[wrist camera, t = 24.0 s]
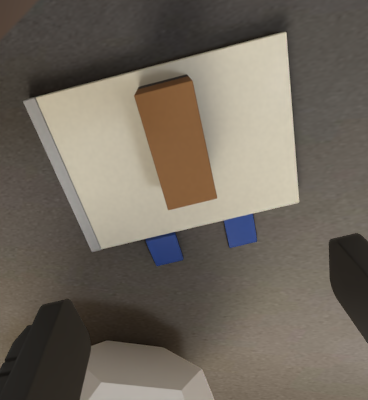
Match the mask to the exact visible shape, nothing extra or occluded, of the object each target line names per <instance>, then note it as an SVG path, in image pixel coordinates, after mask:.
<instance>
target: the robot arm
mask: <svg viewBox="0 0 368 400" xmlns="http://www.w3.org/2000/svg"><path fill="white" fill-rule="evenodd" d="M329 268H330V282H331V286H332V289H333V292H334V294H335V296H336V298H337V300H338V301H339V303H340V304H341V305H342V307H343V308H344V310H345V311H346V313H347V314H348V316H349V317H350V318H351V320H352V321H353V323H354V324H355V326H356V327H357V329H358V330H359V331H360V333H361V334H362V336H363V337H364V339H365V340H366V342H367V343H368V241H367V240H366V239H365V238H364V237H363V236H361V235H360V234H358V233H355V234H351V235H346V236H342V237H338V238H333V239H331V240H330V241H329ZM90 352H91V341H90V336H89V333H88V331H87V329H86V327H85V325H84V323H83V321H82V320H81V318H80V316H79V314H78V312H77V310H76V309H75V307H74V305H73V303H72V302H71V301H70V300H69V299H65V300H61V301H57V302H52V303H48V304H44V305H42V306H41V307H40V309H39V311H38V313H37V315H36V317H35V320H34V322H33V324H32V325H30V326H27V327H26V328H25V329H24V331H23V332H22V333H21V334H20V335H19V336H18V338H17V339H16V340H15V341H14V342H13V344H12V346H11V348H10V350H9V352H8V354H7V356H6V358H5V363H3V364H2V367H1V369H0V400H80V396H81V392H82V387H83V383H84V379H85V374H86V370H87V366H88V361H89V357H90Z"/></svg>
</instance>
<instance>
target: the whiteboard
mask: <svg viewBox="0 0 368 400" xmlns="http://www.w3.org/2000/svg"><path fill="white" fill-rule="evenodd" d="M186 74H187V75H188V76H189V77H190V78H191V79H192V81H193V85H194V89H195V94H196V99H197V104H198V108H199V113H200V118H201V123H202V127H203V132H204V137H205V142H206V146H207V151H208V156H209V161H210V165H211V170H212V175H213V180H214V184H215V189H216V194H217V199H214V200H209V201H205V202H201V203H197V204H193V205H189V206H185V207H180V208H176V209H172V210H168V208H167V205H166V202H165V198H164V195H163V192H162V188H161V185H160V181H159V178H158V175H157V171H156V168H155V165H154V161H153V158H152V155H151V151H150V148H149V145H148V141H147V138H146V135H145V131H144V128H143V124H142V121H141V118H140V114H139V111H138V108H137V104H136V101H135V98H134V95H135V93H136V91H137V89H138V87H140V86H144V85H148V84H151V83H155V82H159V81H163V80H167V79H171V78H174V77H178V76H182V75H186ZM23 103H24V105H25V107H26V109H27V111H28V114H29V116H30V118H31V120H32V122H33V124H34V127H35V129H36V131H37V133H38V135H39V138H40V140H41V142H42V144H43V146H44V149H45V151H46V153H47V155H48V157H49V159H50V162H51V164H52V166H53V168H54V170H55V173H56V175H57V177H58V179H59V181H60V184H61V186H62V188H63V190H64V192H65V194H66V197H67V199H68V201H69V203H70V205H71V208H72V210H73V212H74V214H75V216H76V219H77V221H78V223H79V225H80V227H81V229H82V232H83V234H84V236H85V238H86V240H87V243H88V245H89V247H90V249H91V251H92V252H95V251H99V250H101V249H105V248H109V247H113V246H118V245H122V244H126V243H130V242H134V241H139V240H143V239H147V238H151V237H156V236H160V235H164V234H168V233H172V232H177V231H181V230H185V229H189V228H193V227H198V226H202V225H206V224H210V223H215V222H219V221H223V220H227V219H231V218H236V217H240V216H244V215H248V214H253V213H257V212H261V211H265V210H269V209H274V208H278V207H282V206H286V205H291V204H295V203H299V193H298V179H297V166H296V153H295V140H294V126H293V113H292V100H291V87H290V73H289V60H288V47H287V34H286V32H280V33H276V34H272V35H268V36H265V37H261V38H257V39H253V40H249V41H246V42H242V43H238V44H234V45H230V46H227V47H223V48H219V49H215V50H211V51H208V52H204V53H200V54H196V55H192V56H189V57H185V58H181V59H177V60H173V61H170V62H166V63H162V64H158V65H154V66H150V67H147V68H143V69H139V70H135V71H131V72H128V73H124V74H120V75H116V76H112V77H109V78H105V79H101V80H97V81H93V82H90V83H86V84H82V85H78V86H74V87H71V88H67V89H63V90H59V91H55V92H51V93H48V94H44V95H40V96H36V97H32V98H29V99H26V100H24V101H23Z"/></svg>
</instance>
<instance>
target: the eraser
mask: <svg viewBox="0 0 368 400" xmlns="http://www.w3.org/2000/svg"><path fill="white" fill-rule="evenodd" d="M134 98H135V101H136V104H137V108H138V111H139V114H140V118H141V121H142V124H143V128H144V131H145V135H146V138H147V141H148V145H149V148H150V151H151V155H152V158H153V161H154V165H155V168H156V171H157V175H158V178H159V181H160V185H161V188H162V192H163V195H164V198H165V202H166V205H167V208H168V210H172V209H176V208H180V207H185V206H189V205H193V204H197V203H201V202H205V201H209V200H214V199H217V194H216V189H215V184H214V180H213V175H212V170H211V165H210V161H209V156H208V151H207V146H206V142H205V137H204V132H203V127H202V123H201V118H200V113H199V108H198V104H197V99H196V94H195V89H194V85H193V81H192V79H191V78H190V77H189V76H188V75H187V74H186V75H182V76H178V77H174V78H171V79H167V80H163V81H159V82H155V83H151V84H148V85H144V86H140V87H138V89H137V91H136V93H135V95H134Z"/></svg>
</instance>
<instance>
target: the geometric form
mask: <svg viewBox="0 0 368 400" xmlns="http://www.w3.org/2000/svg"><path fill="white" fill-rule="evenodd" d="M80 400H214V397H213V395H212V392H211V390H210V387H209V385H208V382H207V380H206V378H205V375H204V373H203V370H202V368H200V367H198V366H196V365H194V364H193V363H191V362H189V361H187V360H185V359H184V358H182V357H180V356H178V355H176V354H174V353H173V352H171V351H169V350H167V349H165V348H164V347H157V346H149V345H141V344H133V343H124V342H116V341H108V340H107V341H104V342H101V343H98V344H96V345H93V346H91V352H90V357H89V361H88V366H87V370H86V374H85V379H84V383H83V387H82V392H81V396H80Z"/></svg>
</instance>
